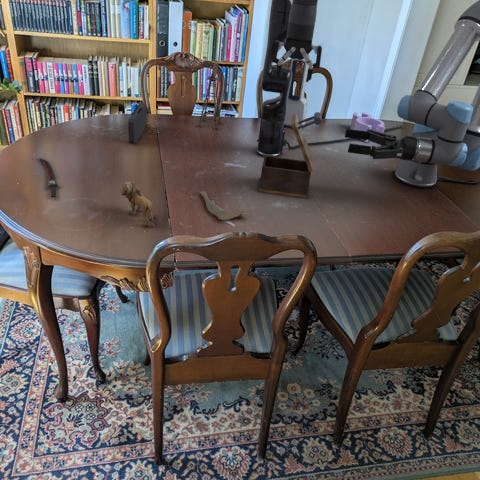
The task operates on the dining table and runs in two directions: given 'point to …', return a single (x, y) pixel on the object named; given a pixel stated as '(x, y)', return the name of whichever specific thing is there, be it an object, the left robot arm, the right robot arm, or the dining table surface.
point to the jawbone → (218, 211)
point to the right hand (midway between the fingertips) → (347, 140)
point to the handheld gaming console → (137, 122)
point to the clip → (366, 123)
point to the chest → (284, 176)
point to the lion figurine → (137, 201)
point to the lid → (301, 137)
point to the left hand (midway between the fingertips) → (293, 79)
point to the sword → (52, 181)
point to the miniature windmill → (212, 79)
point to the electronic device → (297, 102)
